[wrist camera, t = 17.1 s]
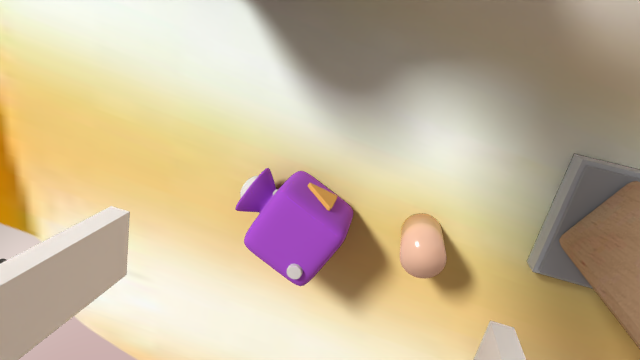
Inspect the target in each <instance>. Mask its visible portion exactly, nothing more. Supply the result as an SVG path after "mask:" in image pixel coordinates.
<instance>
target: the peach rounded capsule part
mask: <svg viewBox="0 0 640 360" xmlns="http://www.w3.org/2000/svg"><path fill="white" fill-rule="evenodd" d="M446 260H447V257H446V251H445V245H444V239H443V234H442V228H441V225H440V223H439V222H438V221H437V220H436V219H435V218H434V217H432V216H430V215H428V214H415V215H412V216H410V217H409V218H407V219H406V220H405V222H404V223H403V225H402V229H401V245H400V262H401V265H402V267H403V268H404V269H405V271H406V272H408V273H409V274H410V275H412V276H414V277H418V278H430V277H434V276H436V275H437V274H439V273H440V272H441V271H442V270H443V269H444V267H445V265H446Z"/></svg>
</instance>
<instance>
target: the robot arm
mask: <svg viewBox="0 0 640 360" xmlns="http://www.w3.org/2000/svg"><path fill="white" fill-rule="evenodd" d="M129 216H130V212H129V211H126V210H122V209H119V208H116V207H112V206H111V207H109V208H107V209H105V210H103V211H101V212H99V213H97V214H95V215H93V216H91V217H89V218H87V219H85V220H83V221H82V222H80V223H78V224H76V225H74V226H72V227H70V228H68V229H66V230H64V231H62V232H60V233H58V234H56V235H55V236H53V237H51V238H49V239H47V240H45V241H43V242H41V243H39V244H37V245H35V246H33V247H31V248H30V249H27V250H26V251H24V252H22V253H20V254H18V255H16V256H14V257H12V258H10V259H8V260H6V259H0V360H19V359H20V358H21V357H22V356H24V355H25V354H26V353H28V352H29V351H30V350H31V349H33V348H34V347H35V346H36V345H38V344H39V343H40V342H42V341H43V340H44V339H45V338H47V337H48V336H49V335H50V334H52V333H53V332H54V331H55V330H57V329H58V328H59V327H60V326H62V325H63V324H64V323H66V322H67V321H68V320H69V319H71V318H72V317H73V316H75V315H76V314H77V313H78V312H80V311H81V310H82V309H83V308H85V307H86V306H87V305H89V304H90V303H91V302H92V301H94V300H95V299H96V298H97V297H99V296H100V295H101V294H103V293H104V292H105V291H106V290H108V289H109V288H110V287H111V286H113V285H114V284H115V283H117V282H118V281H119V280H120V279H122V278H123V277H124V276H125V275H126V273H127V254H128V235H129ZM474 360H526V358H525V355H524V353H523V350H522V347H521V345H520V342H519V339H518V337H517V334H516V331H515V329H514V328H513V327H510V326H506V325H503V324H500V323H497V322H493V321H490V322H489V325H488V327H487V329H486V332H485V334H484V336H483V339H482V341H481V343H480V346H479V348H478V350H477V353H476V355H475V357H474Z"/></svg>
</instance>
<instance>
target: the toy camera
mask: <svg viewBox="0 0 640 360" xmlns="http://www.w3.org/2000/svg"><path fill="white" fill-rule="evenodd" d="M240 196H241V199H240V200H239V202H238V204H237V206H236V210H237V211H247V212H260V214H259V215H258V217H257V218H256V220H255V221H254V222H253V224H252V225H251V227H250V228H249V230H248V231H247V233H246V236H245V239H244V243H245V245H246V247H247V248H248V249H249V250H250V251H251V252H253V253H254V254H255V255H256V256H258V257H259V258H260V259H262V260H263V261H264V262H265V263H267V264H268V265H269V266H271V267H272V268H273V269H275V270H276V271H277V272H279V273H280V274H281V275H283V276H284V277H285V278H287V279H288V280H289V281H291V282H292V283H294V284H296V285H299V286H303V285H305V284H306V283H308V282H309V281H310V280H311V279H312V278H313V277H314V276H315V275H316V274H317V273H318V271H319V270H320V269H321V268H322V267H323V266H324V264H325V263H326V262H327V261H328V260H329V259H330V258H331V256H332V255H333V254H334V253H335V252H336V251H337V249H338V248H339V247H340V246H341V244H342V243H343V241H344V240H345V238H346V235H347V232H348V230H349V227H350V224H351V221H352V218H353V210H352V208H351V207H350V206H349V205H348V204H347V203H346V202H345V201H344V200H342V199H341V198H340V197H339V196H337V195H336V194H335V193H333V192H332V191H331V190H329V189H328V188H327V187H326V186H324V185H323V184H322V183H320V182H319V181H318V180H316V179H315V178H314V177H312V176H311V175H309V174H308V173H306V172H304V171H298V172H296V173H295V174H293V175H292V176H291V177H290V178H289V179H288V180H287V181H286V182H285V183H284V184H283V185H282V186H281V187H280V188H279V189H276V187H275V183H274V180H273V177H272V174H271V171H270V169H269V168H266V169H265V170H264V171H263V172H262V173H261V174H260V175H259V176H254V177H252V178H250V179H249V180H247V181H246V182H245V184H244V185H243V187H242V189H241V194H240Z"/></svg>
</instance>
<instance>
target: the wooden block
mask: <svg viewBox="0 0 640 360" xmlns="http://www.w3.org/2000/svg"><path fill="white" fill-rule="evenodd" d="M559 242H560V245H561V247H562V249H563V250H564V251H565V252H566V254H567V255H568V256H569V258H570V259H571V260H572V262H573V263H574V264H575V265H576V267H577V268H578V269H579V271H580V272H581V273H582V275H583V276H584V277H585V278H586V280H587V281H588V282H589V284H590V285H591V286H592V288H593V289H594V290H595V291H596V293H597V294H598V295H599V297H600V298H601V299H602V301H603V302H604V303H605V304H606V306H607V307H608V308H609V310H610V311H611V312H612V314H613V315H614V316H615V317H616V319H617V320H618V321H619V323H620V324H621V325H622V327H623V328H624V329H625V330H626V332H627V333H628V334H629V336H630V337H631V338H632V340H633V341H634V342H635V343H636V345H637V346H638V347H639V349H640V182H638V181H633V182H630V183H628V184H626V185H625V186H624V187H622V188H621V189H620V190H619V191H617V192H616V193H615V194H614V195H612V196H611V197H610V198H608V199H607V200H606V201H605V202H603V203H602V204H601V205H600V206H598V207H597V208H596V209H594V210H593V211H592V212H591V213H589V214H588V215H587V216H585V217H584V218H583V219H582V220H580V221H579V222H578V223H577V224H575V225H574V226H573V227H571V228H570V229H569V230H568V231H566V232H565V233H564V234H563V235H562V236H561V237H560V239H559Z"/></svg>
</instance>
